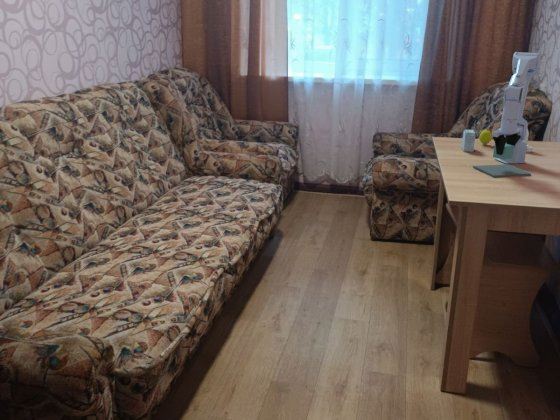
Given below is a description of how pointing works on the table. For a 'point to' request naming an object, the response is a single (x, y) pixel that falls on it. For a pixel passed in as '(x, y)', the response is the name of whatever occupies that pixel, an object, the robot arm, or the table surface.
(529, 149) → the cable organizer
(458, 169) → the table surface
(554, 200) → the table surface
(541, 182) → the table surface
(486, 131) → the fruit
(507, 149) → the cube
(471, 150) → the medicine box
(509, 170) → the grey blue flat plate
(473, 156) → the table surface
